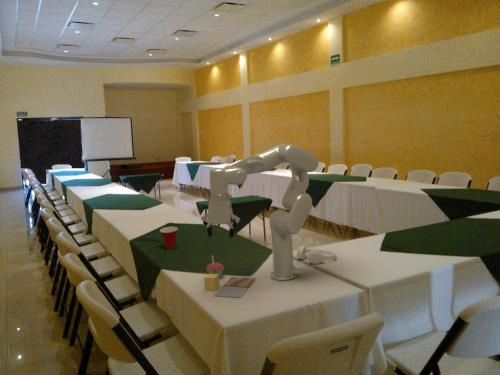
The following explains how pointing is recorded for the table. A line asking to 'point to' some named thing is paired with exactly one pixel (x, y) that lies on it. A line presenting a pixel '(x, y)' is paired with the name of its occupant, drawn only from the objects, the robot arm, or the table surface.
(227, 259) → the table surface
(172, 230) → the plastic cup
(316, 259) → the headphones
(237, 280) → the walnut mat
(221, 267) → the cupcake
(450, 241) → the table surface
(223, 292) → the grey mat
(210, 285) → the mustard block
